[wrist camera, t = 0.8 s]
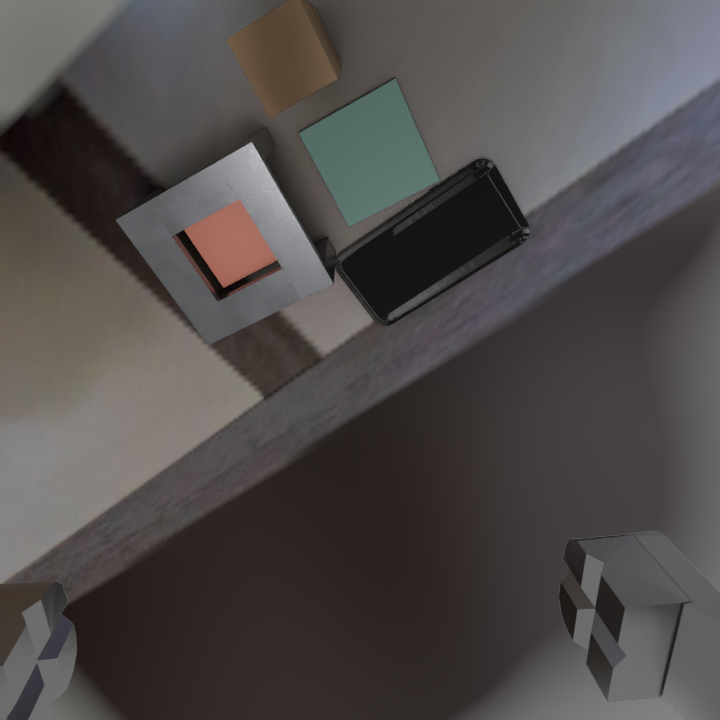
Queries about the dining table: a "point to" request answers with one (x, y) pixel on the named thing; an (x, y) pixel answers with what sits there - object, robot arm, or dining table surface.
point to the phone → (434, 243)
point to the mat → (370, 153)
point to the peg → (286, 55)
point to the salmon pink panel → (230, 243)
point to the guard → (272, 218)
